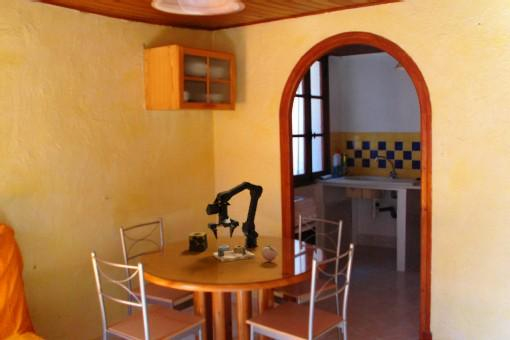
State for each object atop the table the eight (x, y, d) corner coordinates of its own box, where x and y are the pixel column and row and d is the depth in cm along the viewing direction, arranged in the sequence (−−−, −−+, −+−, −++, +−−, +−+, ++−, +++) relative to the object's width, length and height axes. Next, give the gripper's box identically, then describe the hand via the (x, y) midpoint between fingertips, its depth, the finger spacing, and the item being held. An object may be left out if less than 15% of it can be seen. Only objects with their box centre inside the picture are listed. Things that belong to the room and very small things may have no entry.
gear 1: (227, 249, 306) (227, 244, 306) (231, 252, 300) (231, 247, 300) (216, 250, 303) (216, 246, 303) (220, 253, 297) (220, 248, 297)
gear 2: (241, 249, 300) (240, 244, 299) (247, 251, 294) (247, 246, 294) (231, 251, 296) (231, 246, 295) (237, 253, 290) (237, 248, 290)
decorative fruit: (258, 261, 277) (258, 244, 276) (269, 259, 282) (269, 241, 281) (268, 265, 270) (268, 247, 269) (280, 262, 275) (279, 244, 274)
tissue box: (208, 247, 313) (207, 231, 312) (204, 251, 303) (204, 235, 302) (192, 247, 314) (191, 231, 313) (188, 251, 304) (188, 235, 303)
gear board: (244, 251, 301) (243, 243, 301) (254, 257, 287) (254, 248, 286) (213, 255, 293) (213, 247, 292) (222, 261, 278) (222, 253, 278)
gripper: (213, 217, 288) (213, 243, 290) (242, 213, 296) (243, 239, 297) (206, 214, 298) (207, 239, 300) (235, 211, 306) (236, 235, 307)
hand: (223, 238), depth 301 cm, fingers open, 9 cm apart
